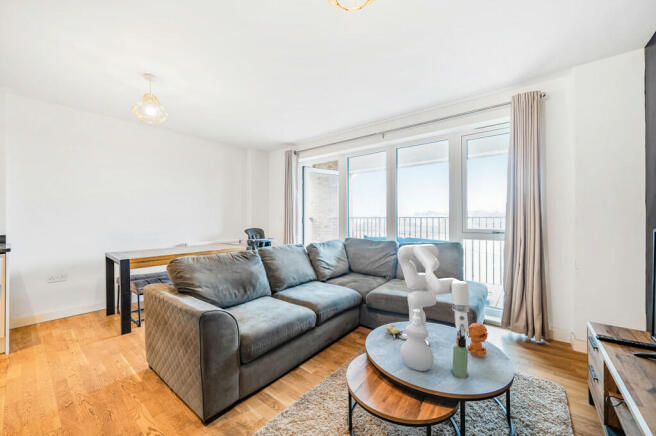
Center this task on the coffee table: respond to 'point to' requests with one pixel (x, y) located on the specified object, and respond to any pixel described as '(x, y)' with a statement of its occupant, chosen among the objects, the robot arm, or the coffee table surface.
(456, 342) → the cap
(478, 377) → the coffee table surface
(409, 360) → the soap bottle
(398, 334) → the figurine
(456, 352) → the bottle
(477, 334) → the orange sculpture
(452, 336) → the coffee table surface
